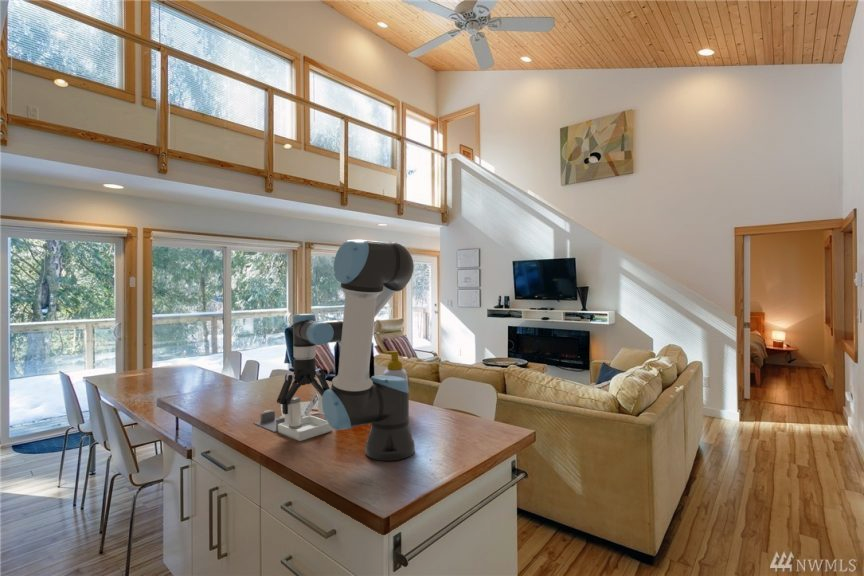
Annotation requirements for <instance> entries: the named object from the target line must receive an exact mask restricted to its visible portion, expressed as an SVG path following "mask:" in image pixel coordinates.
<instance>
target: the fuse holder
mask: <svg viewBox="0 0 864 576" xmlns="http://www.w3.org/2000/svg"><path fill="white" fill-rule="evenodd" d="M275 411H276V410H272V409H268V410H264V411H263V412H262V413H260V421H254V422H253V424H254V425H256V426H258V427H260V428H263V429H266V430H268V431H269V432H272V433H278V424H280V423H284V422H285V415H283V416H279V417H277V416H276V415H275V413H276V412H275Z"/></svg>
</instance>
